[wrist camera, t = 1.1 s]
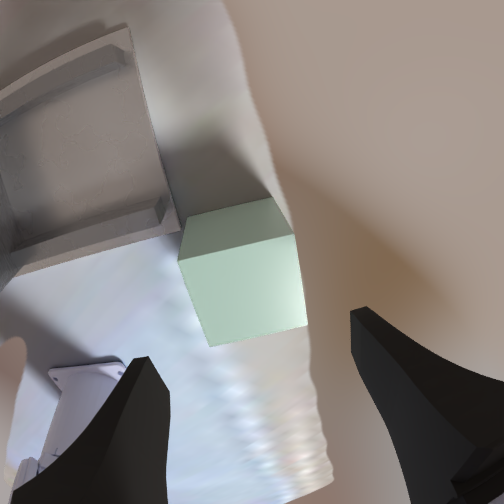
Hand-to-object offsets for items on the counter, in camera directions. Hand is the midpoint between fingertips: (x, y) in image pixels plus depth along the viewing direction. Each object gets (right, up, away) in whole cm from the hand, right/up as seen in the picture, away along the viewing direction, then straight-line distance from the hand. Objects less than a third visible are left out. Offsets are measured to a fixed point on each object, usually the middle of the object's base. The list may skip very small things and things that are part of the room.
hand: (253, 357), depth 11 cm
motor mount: (-14, +8, +5) cm, 17 cm away
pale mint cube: (-1, +4, +9) cm, 10 cm away
